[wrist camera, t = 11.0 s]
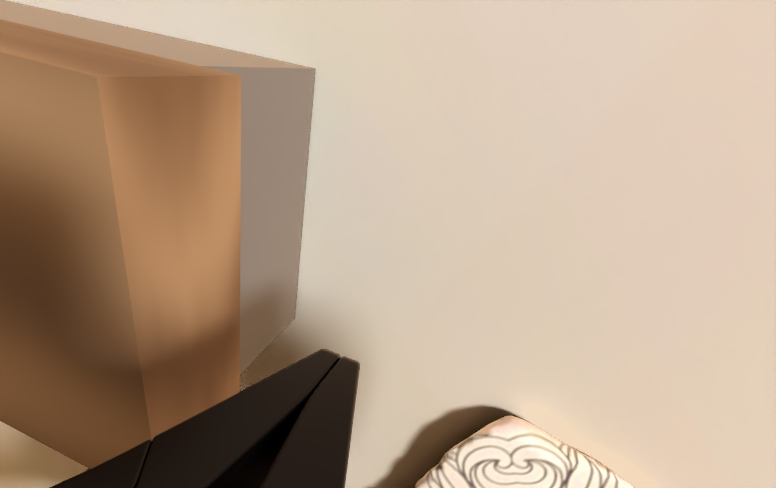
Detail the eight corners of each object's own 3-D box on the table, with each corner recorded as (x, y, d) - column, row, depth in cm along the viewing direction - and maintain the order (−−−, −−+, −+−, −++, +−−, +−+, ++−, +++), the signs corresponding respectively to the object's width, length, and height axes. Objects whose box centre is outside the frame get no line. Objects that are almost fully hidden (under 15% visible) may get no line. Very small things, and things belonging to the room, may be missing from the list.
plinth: (294, 317, 17) (213, 403, 12) (51, 226, 20) (-83, 269, 15) (315, 68, 12) (199, 66, 8) (-3, -2, 15) (-214, -31, 11)
